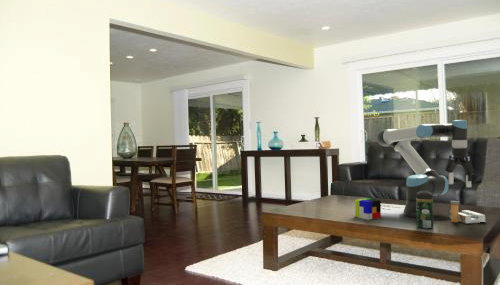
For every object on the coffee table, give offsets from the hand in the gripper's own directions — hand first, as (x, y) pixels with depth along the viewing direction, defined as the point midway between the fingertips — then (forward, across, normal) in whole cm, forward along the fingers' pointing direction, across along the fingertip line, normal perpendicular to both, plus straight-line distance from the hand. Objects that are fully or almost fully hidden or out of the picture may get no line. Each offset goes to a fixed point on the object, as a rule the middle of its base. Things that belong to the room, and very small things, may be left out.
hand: (459, 185), depth 220 cm
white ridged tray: (+18, -5, 0) cm, 19 cm away
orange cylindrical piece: (+18, -6, +8) cm, 21 cm away
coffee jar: (+19, -12, +31) cm, 38 cm away
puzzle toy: (+19, +18, +46) cm, 53 cm away
